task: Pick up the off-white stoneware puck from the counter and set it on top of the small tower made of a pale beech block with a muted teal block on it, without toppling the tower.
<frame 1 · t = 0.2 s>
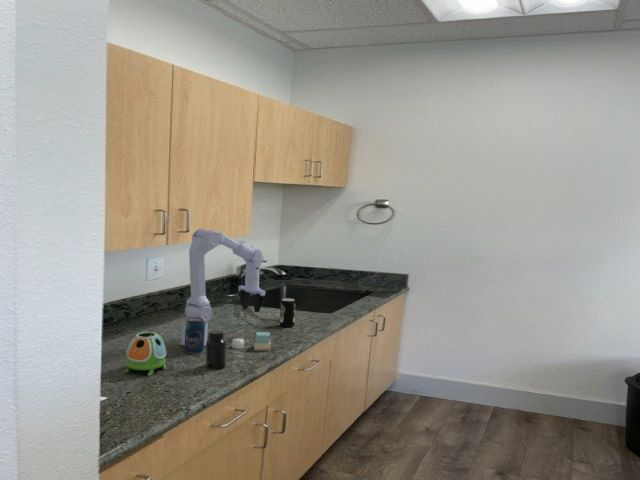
hand: (250, 310, 246), 10 cm above the counter, tool pointing down, fingers open, 7 cm apart
teal block: (262, 341, 226), point 3 cm above the counter, touching beech block
beverage can: (286, 326, 264), on the counter
supplement bottle: (215, 367, 201), on the counter
soda can: (194, 352, 217), on the counter
turtle holder: (147, 369, 195), on the counter
beech block: (262, 349, 226), on the counter, touching teal block
stoneware puck: (238, 347, 226), on the counter
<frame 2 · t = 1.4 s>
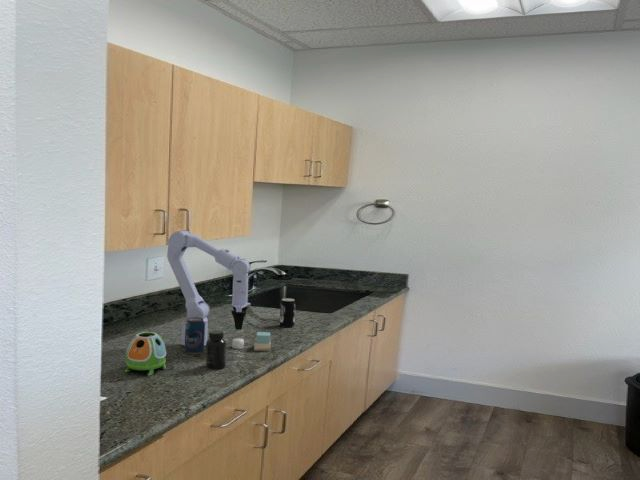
hand: (239, 327, 225), 8 cm above the counter, tool pointing down, fingers open, 7 cm apart
nothing on the counter moved.
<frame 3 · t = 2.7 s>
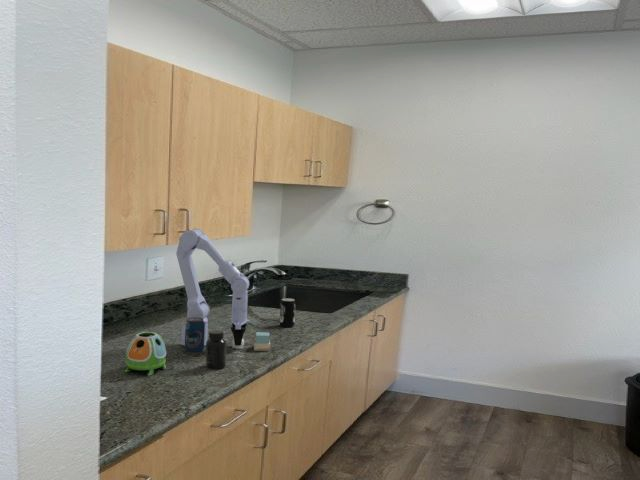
hand: (238, 343, 226), 1 cm above the counter, tool pointing down, fingers closed on stoneware puck, 4 cm apart
stoneware puck: (238, 347, 226), on the counter, touching gripper
everything else where it was.
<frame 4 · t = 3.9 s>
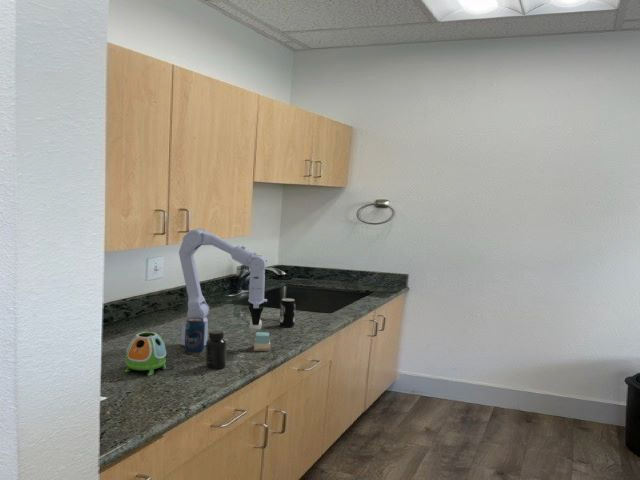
hand: (255, 323, 225), 10 cm above the counter, tool pointing down, fingers closed on stoneware puck, 4 cm apart
stoneware puck: (255, 328, 225), point 8 cm above the counter, touching gripper
everything else where it was.
when the fingers open (8 cm above the counter, at t = 4.9 s): stoneware puck stays where it is, resting on teal block.
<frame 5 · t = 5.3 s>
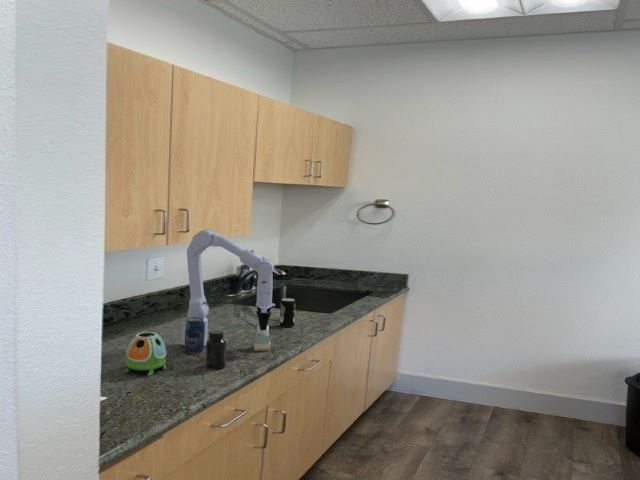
hand: (263, 327, 225), 8 cm above the counter, tool pointing down, fingers open, 7 cm apart
teal block: (262, 341, 225), point 3 cm above the counter, touching beech block, stoneware puck
stoneware puck: (262, 333, 225), point 6 cm above the counter, touching teal block
everything else where it was.
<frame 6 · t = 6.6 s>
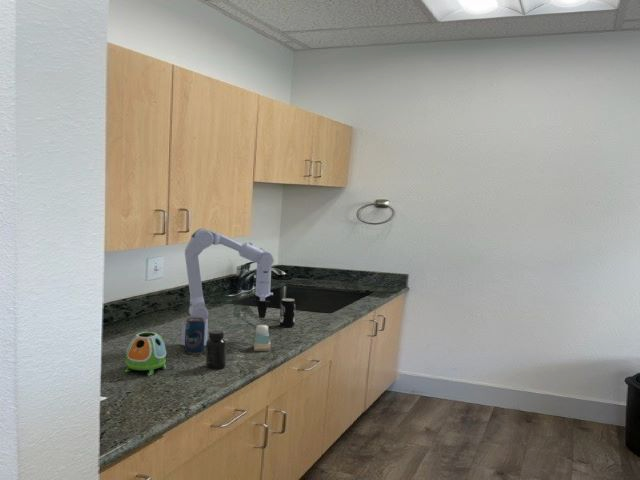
hand: (262, 315, 235), 10 cm above the counter, tool pointing down, fingers open, 7 cm apart
nothing on the counter moved.
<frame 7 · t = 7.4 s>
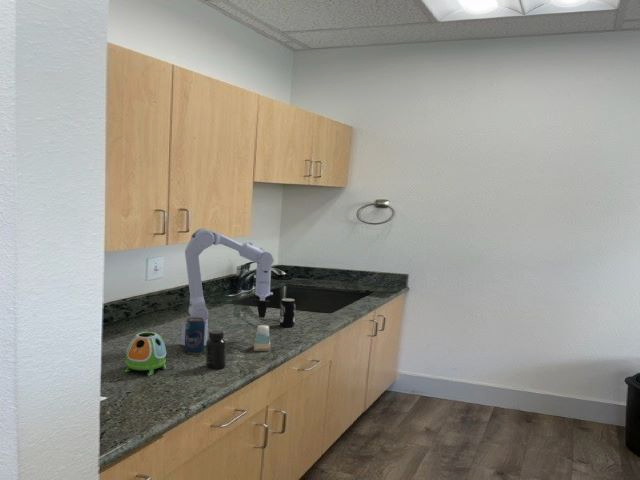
hand: (261, 315, 235), 10 cm above the counter, tool pointing down, fingers open, 7 cm apart
nothing on the counter moved.
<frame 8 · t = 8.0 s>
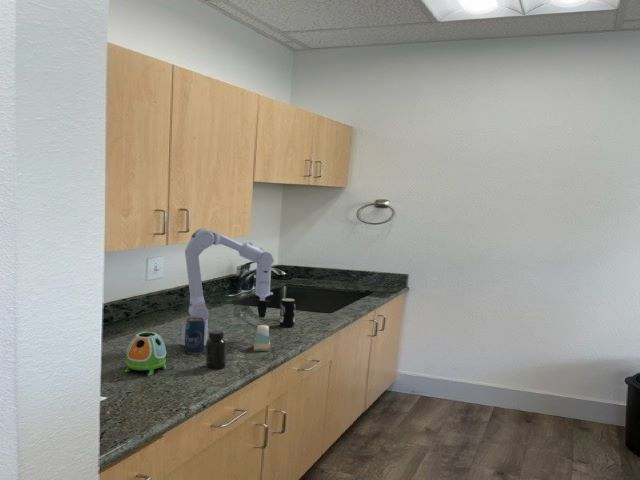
hand: (261, 315, 235), 10 cm above the counter, tool pointing down, fingers open, 7 cm apart
teal block: (262, 342, 225), point 3 cm above the counter, touching stoneware puck
beech block: (261, 349, 226), on the counter
everything else where it was.
at the end: stoneware puck 0.2 cm off-centre on the beech block, point 6.0 cm above the beech block's base; teal block 0.4 cm off-centre on the beech block, point 3.0 cm above the beech block's base; beech block moved 0.4 cm from its start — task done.
